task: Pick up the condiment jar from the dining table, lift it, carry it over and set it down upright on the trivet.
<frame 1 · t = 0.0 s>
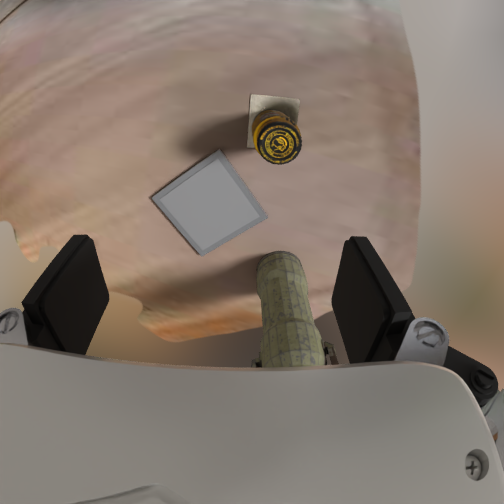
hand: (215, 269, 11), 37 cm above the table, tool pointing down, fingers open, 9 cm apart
thermos: (279, 269, 57), on the table
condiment: (272, 122, 42), on the table
trivet: (209, 205, 49), on the table
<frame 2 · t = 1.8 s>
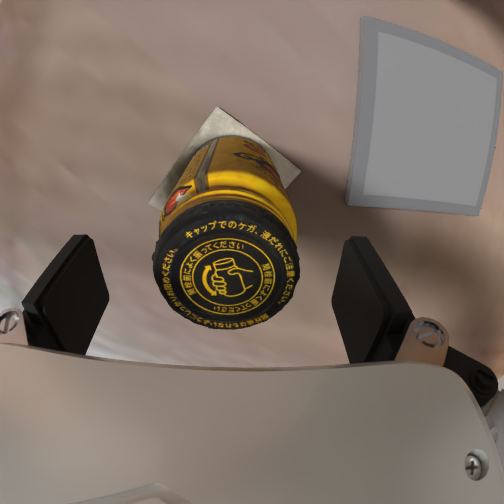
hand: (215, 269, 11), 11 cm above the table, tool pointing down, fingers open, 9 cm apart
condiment: (222, 184, 21), on the table
trivet: (435, 125, 18), on the table
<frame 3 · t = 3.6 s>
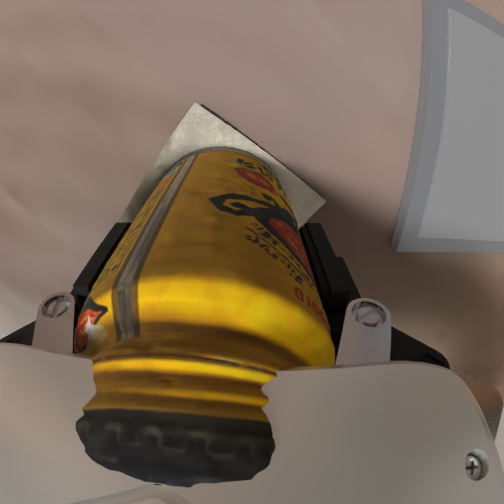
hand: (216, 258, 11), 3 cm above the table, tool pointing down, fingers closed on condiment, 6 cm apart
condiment: (208, 219, 14), on the table, touching gripper
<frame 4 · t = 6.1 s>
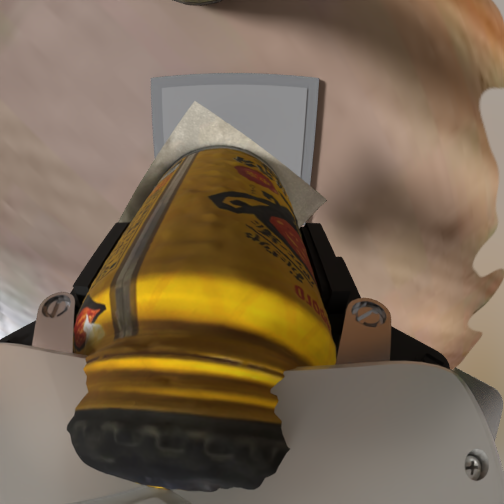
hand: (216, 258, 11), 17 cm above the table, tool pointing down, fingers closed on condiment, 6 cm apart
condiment: (208, 218, 14), point 14 cm above the table, touching gripper
trivet: (233, 150, 25), on the table
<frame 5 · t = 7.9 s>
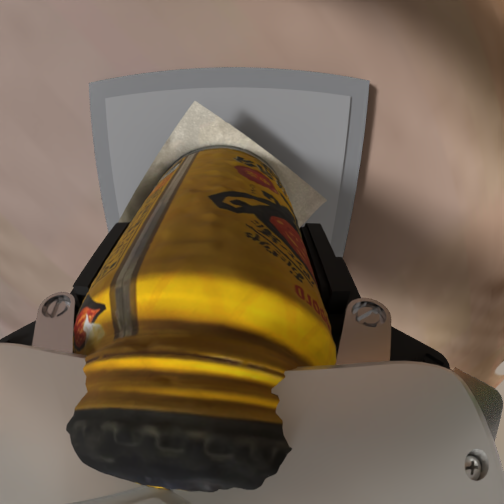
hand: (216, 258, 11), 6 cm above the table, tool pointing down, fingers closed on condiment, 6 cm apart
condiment: (208, 218, 14), point 3 cm above the table, touching gripper
trivet: (225, 197, 16), on the table
when the fingers open (5 cm above the table, at t = 9.1 s): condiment stays where it is, resting on trivet.
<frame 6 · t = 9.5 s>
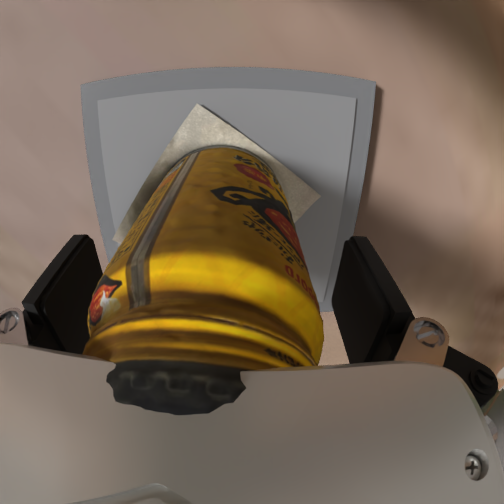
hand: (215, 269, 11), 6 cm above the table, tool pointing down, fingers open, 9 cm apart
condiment: (209, 213, 15), point 1 cm above the table, touching trivet
trivet: (224, 203, 15), on the table
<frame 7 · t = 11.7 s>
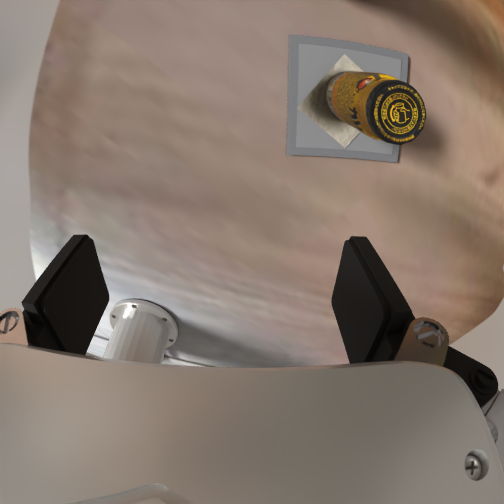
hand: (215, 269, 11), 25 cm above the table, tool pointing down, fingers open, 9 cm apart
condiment: (344, 101, 29), point 1 cm above the table, touching trivet
trivet: (348, 99, 29), on the table
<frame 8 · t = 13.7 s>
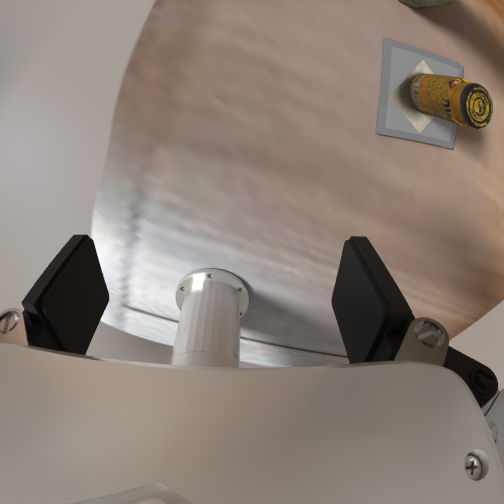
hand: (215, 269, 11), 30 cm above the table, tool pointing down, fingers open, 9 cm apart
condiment: (420, 96, 32), point 1 cm above the table, touching trivet
trivet: (422, 95, 33), on the table
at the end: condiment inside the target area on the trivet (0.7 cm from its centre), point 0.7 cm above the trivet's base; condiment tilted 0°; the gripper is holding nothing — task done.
